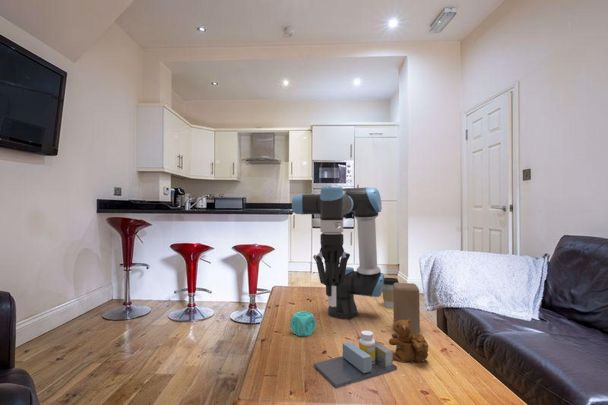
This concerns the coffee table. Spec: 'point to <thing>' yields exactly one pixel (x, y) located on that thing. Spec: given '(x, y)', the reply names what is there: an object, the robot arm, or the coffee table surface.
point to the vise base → (346, 373)
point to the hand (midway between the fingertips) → (332, 305)
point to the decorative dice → (302, 323)
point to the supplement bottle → (367, 344)
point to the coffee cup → (388, 291)
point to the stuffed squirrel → (408, 343)
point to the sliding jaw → (357, 357)
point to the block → (407, 305)
